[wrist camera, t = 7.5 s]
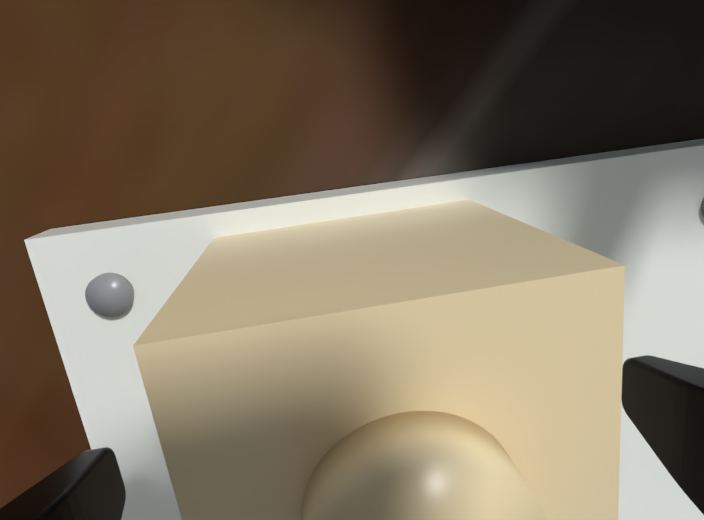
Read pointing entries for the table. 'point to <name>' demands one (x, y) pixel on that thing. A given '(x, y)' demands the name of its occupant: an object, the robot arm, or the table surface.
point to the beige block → (391, 372)
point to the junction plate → (478, 185)
